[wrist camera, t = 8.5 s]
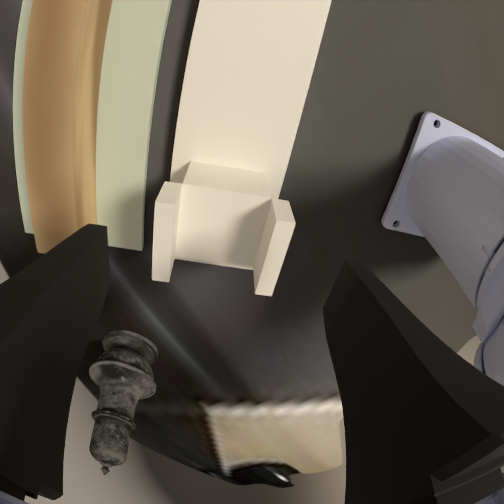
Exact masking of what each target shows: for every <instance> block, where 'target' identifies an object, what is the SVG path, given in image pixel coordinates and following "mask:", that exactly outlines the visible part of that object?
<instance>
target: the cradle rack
mask: <svg viewBox="0 0 504 504" xmlns="http://www.w3.org/2000/svg"><path fill="white" fill-rule="evenodd" d="M330 4H331V0H200V2H199V6H198V11H197V15H196V20H195V24H194V29H193V34H192V39H191V43H190V48H189V54H188V59H187V64H186V70H185V75H184V81H183V87H182V93H181V99H180V106H179V112H178V119H177V126H176V134H175V141H174V149H173V157H172V166H171V175H170V182H166V181H165V182H164V184H163V186H162V188H161V190H160V193H159V195H158V197H157V199H156V201H155V212H154V230H153V255H152V280H156V281H163V282H169V280H170V276H171V271H172V267H173V263H174V259H179V260H186V261H193V262H200V263H207V264H214V265H221V266H228V267H235V268H242V269H249V270H253V274H254V288H255V294H257V295H266V296H272V294H273V291H274V288H275V285H276V282H277V279H278V276H279V273H280V270H281V267H282V264H283V261H284V258H285V255H286V252H287V249H288V246H289V243H290V240H291V237H292V234H293V231H294V228H295V224H296V223H295V220H294V216H293V213H292V210H291V207H290V203H289V201H285V200H280V199H278V198H279V194H280V191H281V187H282V183H283V180H284V176H285V173H286V169H287V165H288V162H289V158H290V154H291V151H292V147H293V143H294V140H295V136H296V132H297V129H298V125H299V121H300V118H301V114H302V110H303V106H304V103H305V99H306V95H307V92H308V88H309V84H310V80H311V77H312V73H313V69H314V65H315V62H316V58H317V54H318V50H319V46H320V43H321V39H322V35H323V31H324V27H325V23H326V20H327V16H328V12H329V8H330Z"/></svg>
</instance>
